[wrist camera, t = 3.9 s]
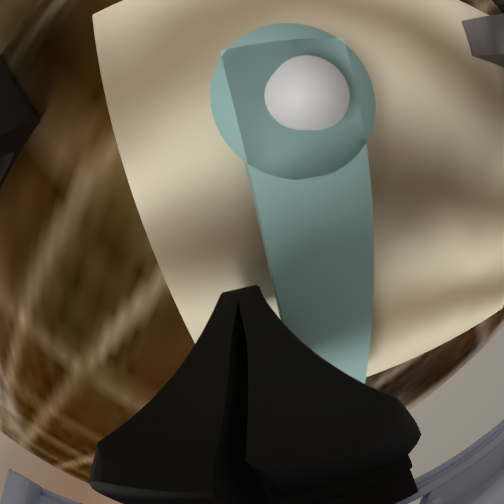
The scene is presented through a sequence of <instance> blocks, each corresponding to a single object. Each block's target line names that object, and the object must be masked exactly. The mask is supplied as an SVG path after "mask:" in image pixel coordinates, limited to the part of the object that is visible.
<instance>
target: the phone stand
mask: <svg viewBox="0 0 504 504" xmlns="http://www.w3.org/2000/svg"><path fill="white" fill-rule="evenodd" d="M38 123H39V118H38V117H37V115H36V114H35V112H34V111H33V109H32V108H31V106H30V105H29V103H28V102H27V100H26V98H25V97H24V95H23V94H22V92H21V90H20V89H19V87H18V86H17V84H16V82H15V80H14V79H13V77H12V75H11V74H10V72H9V70H8V68H7V67H6V65H5V63H4V61H3V59H2V57H1V56H0V187H1V186H2V184H3V182H4V180H5V178H6V176H7V174H8V172H9V171H10V169H11V167H12V165H13V163H14V161H15V160H16V158H17V156H18V155H19V153H20V151H21V150H22V148H23V146H24V145H25V143H26V141H27V140H28V138H29V137H30V135H31V134H32V132H33V131H34V129H35V128H36V126H37V125H38Z"/></svg>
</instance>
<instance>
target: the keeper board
mask: <svg viewBox="0 0 504 504" xmlns="http://www.w3.org/2000/svg"><path fill="white" fill-rule="evenodd" d="M92 16H93V26H94V34H95V41H96V48H97V54H98V61H99V66H100V72H101V77H102V82H103V87H104V92H105V97H106V101H107V106H108V110H109V114H110V118H111V122H112V126H113V130H114V134H115V138H116V141H117V145H118V149H119V152H120V156H121V159H122V162H123V166H124V169H125V172H126V175H127V179H128V182H129V185H130V188H131V191H132V194H133V197H134V200H135V203H136V206H137V209H138V211H139V214H140V217H141V220H142V223H143V225H144V228H145V231H146V233H147V236H148V239H149V241H150V244H151V246H152V249H153V251H154V254H155V256H156V259H157V261H158V264H159V266H160V269H161V271H162V273H163V276H164V278H165V280H166V283H167V285H168V287H169V290H170V292H171V294H172V296H173V299H174V301H175V303H176V305H177V307H178V309H179V312H180V314H181V316H182V318H183V320H184V322H185V324H186V326H187V328H188V330H189V332H190V335H191V337H192V339H193V341H194V343H196V342H197V340H198V339H199V337H200V335H201V333H202V332H203V330H204V328H205V326H206V324H207V322H208V320H209V318H210V316H211V314H212V312H213V310H214V308H215V306H216V304H217V301H218V299H219V297H220V295H221V294H222V293H223V292H227V291H231V290H236V289H240V288H244V287H248V286H253V285H257V286H259V287H260V290H261V292H262V294H263V296H264V298H265V300H266V301H267V303H268V304H269V306H270V307H271V308H272V310H273V311H274V312H275V314H276V315H277V316H278V317H279V318H280V316H279V312H278V307H277V303H276V298H275V294H274V289H273V285H272V280H271V276H270V271H269V267H268V262H267V258H266V253H265V249H264V245H263V240H262V236H261V232H260V227H259V223H258V219H257V214H256V210H255V206H254V201H253V197H252V193H251V189H250V184H249V180H248V176H247V172H246V168H245V163H244V161H243V160H242V159H241V158H240V157H239V156H238V155H236V154H235V153H234V152H233V150H232V149H231V148H230V147H229V146H228V145H227V143H226V142H225V140H224V139H223V137H222V136H221V134H220V132H219V130H218V128H217V126H216V124H215V121H214V118H213V115H212V109H211V104H210V89H211V81H212V78H213V74H214V71H215V69H216V66H217V64H218V62H219V60H220V50H225V49H228V48H229V47H230V46H231V45H232V44H233V43H234V42H235V41H236V40H238V39H239V38H240V37H242V36H243V35H245V34H247V33H248V32H250V31H253V30H255V29H257V28H260V27H263V26H267V25H271V24H278V23H297V24H304V25H308V26H312V27H315V28H318V29H321V30H323V31H325V32H327V33H329V34H331V35H333V36H335V37H336V38H343V39H344V42H345V44H346V45H347V46H348V47H349V48H350V49H351V50H352V51H353V52H354V53H355V54H356V55H357V57H358V58H359V59H360V61H361V62H362V63H363V65H364V67H365V69H366V70H367V72H368V75H369V77H370V79H371V82H372V86H373V89H374V94H375V106H376V111H375V119H374V124H373V128H372V131H371V133H370V136H369V138H368V140H367V142H366V146H367V153H368V161H369V170H370V180H371V191H372V205H373V223H374V296H373V315H372V328H371V340H370V349H369V358H368V366H367V374H366V377H368V376H371V375H373V374H376V373H379V372H381V371H384V370H386V369H389V368H391V367H394V366H396V365H399V364H401V363H403V362H406V361H408V360H410V359H412V358H415V357H417V356H419V355H421V354H423V353H425V352H427V351H430V350H432V349H434V348H436V347H438V346H440V345H442V344H443V343H445V342H447V341H449V340H451V339H453V338H455V337H457V336H458V335H460V334H462V333H464V332H465V331H467V330H469V329H471V328H472V327H474V326H476V325H477V324H479V323H481V322H482V321H484V320H485V319H487V318H488V317H490V316H492V315H493V314H495V313H496V312H498V311H499V310H501V309H502V308H503V305H504V14H496V15H490V16H489V15H487V14H485V13H484V12H482V11H480V10H478V9H476V8H474V7H472V6H470V5H468V4H466V3H463V2H461V1H459V0H123V1H121V2H118V3H116V4H114V5H112V6H110V7H107V8H105V9H103V10H101V11H99V12H97V13H95V14H93V15H92Z"/></svg>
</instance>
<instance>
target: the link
mask: <svg viewBox="0 0 504 504" xmlns="http://www.w3.org/2000/svg"><path fill="white" fill-rule="evenodd" d="M210 104H211V109H212V115H213V118H214V121H215V124H216V126H217V128H218V130H219V132H220V134H221V136H222V137H223V139H224V140H225V142H226V143H227V145H228V146H229V147H230V148H231V149H232V150H233V152H234V153H235V154H236V155H238V156H239V157H240V158H241V159H242V160H243V161H244V163H245V168H246V172H247V176H248V180H249V184H250V189H251V193H252V197H253V201H254V206H255V210H256V214H257V219H258V223H259V227H260V232H261V236H262V240H263V245H264V249H265V253H266V258H267V262H268V267H269V271H270V276H271V280H272V285H273V289H274V294H275V298H276V303H277V307H278V312H279V316H280V320H281V321H282V322H283V323H284V324H285V325H286V326H287V327H288V328H289V329H290V330H291V332H292V333H293V334H294V335H296V336H297V337H298V338H299V339H300V340H301V341H302V342H303V343H304V344H305V345H307V346H308V347H309V348H310V349H311V350H313V351H314V352H315V353H317V354H318V355H319V356H320V357H322V358H323V359H324V360H326V361H327V362H329V363H331V364H332V365H334V366H335V367H337V368H338V369H340V370H341V371H343V372H344V373H346V374H348V375H349V376H351V377H353V378H355V379H357V380H359V381H360V382H362V383H364V384H365V380H366V374H367V366H368V358H369V349H370V340H371V328H372V315H373V296H374V223H373V205H372V191H371V180H370V170H369V161H368V153H367V146H366V142H367V140H368V138H369V136H370V133H371V131H372V128H373V124H374V119H375V111H376V106H375V94H374V89H373V86H372V82H371V79H370V77H369V75H368V72H367V70H366V69H365V67H364V65H363V63H362V62H361V61H360V59H359V58H358V57H357V55H356V54H355V53H354V52H353V51H352V50H351V49H350V48H349V47H348V46H347V45H346V44H345V42H344V39H343V38H336V37H335V36H333V35H331V34H329V33H327V32H325V31H323V30H321V29H318V28H315V27H312V26H308V25H304V24H297V23H278V24H271V25H267V26H263V27H260V28H257V29H255V30H253V31H250V32H248V33H247V34H245V35H243V36H242V37H240V38H239V39H238V40H236V41H235V42H234V43H233V44H232V45H231V46H230V47H229V48H228V49H225V50H220V60H219V62H218V64H217V66H216V69H215V71H214V74H213V78H212V81H211V89H210Z"/></svg>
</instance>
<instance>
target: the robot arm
mask: <svg viewBox="0 0 504 504" xmlns="http://www.w3.org/2000/svg"><path fill="white" fill-rule="evenodd" d="M420 436H421V433H420V431H419V428H418V426H417V423H416V422H415V420H414V419H413V417H412V416H411V415H410V413H409V412H408V410H407V409H406V408H405V407H404V405H403V404H402V403H401V402H400V401H399V400H398V398H396V397H393V396H391V395H388V394H386V393H383V392H381V391H379V390H377V389H375V388H372V387H370V386H368V385H366V384H364V383H362V382H360V381H359V380H357V379H355V378H353V377H351V376H349V375H348V374H346V373H344V372H343V371H341V370H340V369H338V368H337V367H335V366H334V365H332V364H331V363H329V362H327V361H326V360H324V359H323V358H322V357H320V356H319V355H318V354H317V353H315V352H314V351H313V350H311V349H310V348H309V347H308V346H307V345H305V344H304V343H303V342H302V341H301V340H300V339H299V338H298V337H297V336H296V335H294V334H293V333H292V332H291V330H290V329H289V328H288V327H287V326H286V325H285V324H284V323H283V322H282V321H281V320H280V318H279V317H278V316H277V315H276V314H275V312H274V311H273V310H272V308H271V307H270V306H269V304H268V303H267V301H266V300H265V298H264V296H263V294H262V292H261V290H260V287H259V286H257V285H253V286H248V287H244V288H240V289H236V290H231V291H227V292H223V293H222V294H221V295H220V297H219V299H218V301H217V304H216V306H215V308H214V310H213V312H212V314H211V316H210V318H209V320H208V322H207V324H206V326H205V328H204V330H203V332H202V333H201V335H200V337H199V339H198V340H197V342H196V343H195V345H194V347H193V348H192V350H191V352H190V353H189V355H188V356H187V358H186V359H185V361H184V362H183V363H182V365H181V366H180V368H179V369H178V370H177V372H176V373H175V374H174V375H173V377H172V378H171V379H170V380H169V381H168V382H167V383H166V385H165V386H164V387H163V388H162V389H161V390H160V391H159V392H158V393H157V394H156V396H155V397H154V398H153V399H152V400H151V401H150V402H149V403H147V404H146V405H145V406H144V407H143V408H142V409H141V410H140V411H139V412H138V413H136V414H135V415H134V416H133V417H132V418H131V419H129V420H128V421H127V422H126V423H125V424H123V425H122V426H120V427H119V428H118V429H116V430H115V431H114V432H112V433H111V434H109V435H108V436H107V437H105V438H104V439H102V440H101V441H99V442H98V444H97V448H96V452H95V457H94V461H93V466H92V470H91V475H90V480H89V484H90V486H91V487H92V488H93V489H94V490H95V491H97V492H99V493H101V494H102V495H104V496H107V497H109V498H111V499H113V500H116V501H118V502H120V503H123V504H408V503H410V502H412V501H414V500H416V499H418V498H420V497H422V496H423V498H422V499H421V501H420V504H504V420H503V421H502V422H500V423H499V424H498V425H497V426H496V427H494V428H493V429H492V430H491V431H489V432H488V433H487V434H486V435H484V436H483V437H482V438H481V439H479V440H478V441H476V442H475V443H473V444H472V445H471V446H469V447H468V448H466V449H465V450H464V451H462V452H461V453H459V454H457V455H456V456H454V457H453V458H451V459H450V460H448V461H447V462H445V463H443V464H442V465H440V466H438V467H436V468H434V469H433V470H431V471H429V472H427V473H425V474H424V475H422V476H420V477H418V478H416V479H414V478H413V476H412V473H411V471H410V469H411V468H412V463H411V460H410V458H409V456H408V454H409V453H410V452H411V450H412V449H413V448H414V447H415V445H416V444H417V442H418V440H419V438H420ZM424 495H425V496H424ZM0 504H82V503H79V502H76V501H73V500H70V499H68V498H65V497H63V496H60V495H57V494H55V493H53V492H50V491H48V490H46V489H44V488H42V487H40V486H39V485H37V484H36V483H34V482H33V481H31V480H29V479H27V478H26V477H24V476H22V475H20V474H18V473H16V472H15V471H13V470H11V469H9V470H8V474H7V477H6V481H5V485H4V489H3V494H2V499H1V503H0Z"/></svg>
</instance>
